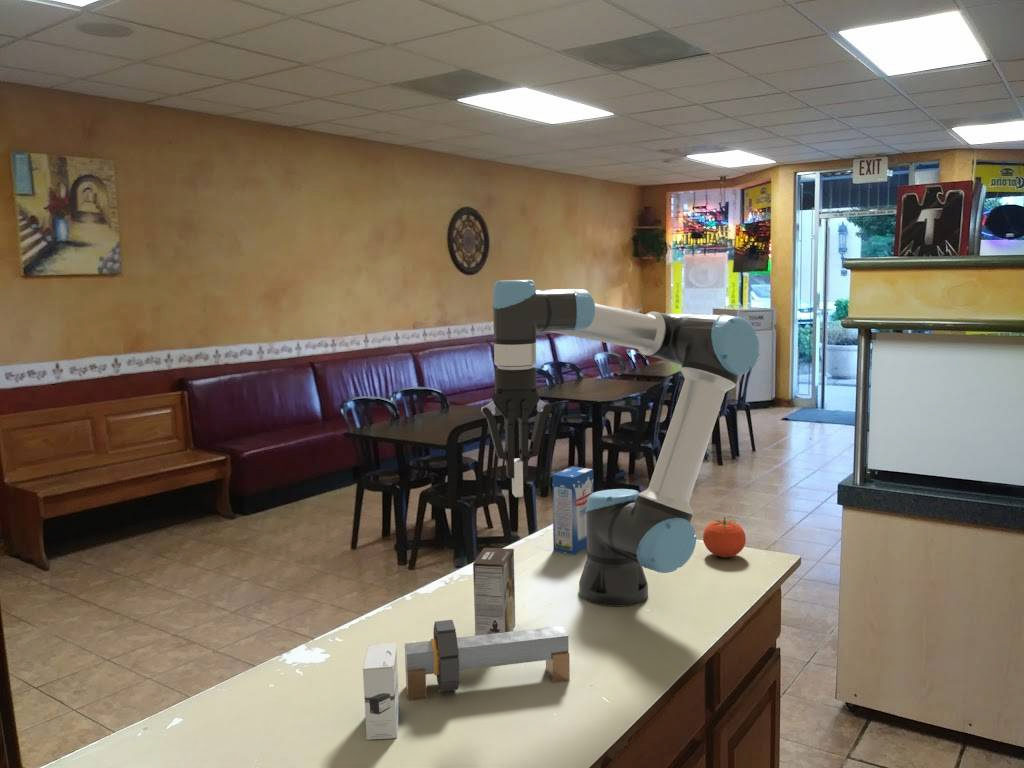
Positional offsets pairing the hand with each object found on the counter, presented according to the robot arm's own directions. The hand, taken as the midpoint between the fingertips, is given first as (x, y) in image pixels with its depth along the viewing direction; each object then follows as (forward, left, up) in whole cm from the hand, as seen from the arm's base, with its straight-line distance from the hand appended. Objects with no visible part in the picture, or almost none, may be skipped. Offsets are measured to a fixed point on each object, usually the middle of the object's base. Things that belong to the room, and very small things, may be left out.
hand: (517, 494), depth 147 cm
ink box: (+26, +19, -31) cm, 45 cm away
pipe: (+8, +10, -30) cm, 33 cm away
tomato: (-60, -37, -31) cm, 77 cm away
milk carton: (-26, -53, -31) cm, 66 cm away
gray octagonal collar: (+15, +10, -30) cm, 35 cm away
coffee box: (+3, -9, -31) cm, 32 cm away
